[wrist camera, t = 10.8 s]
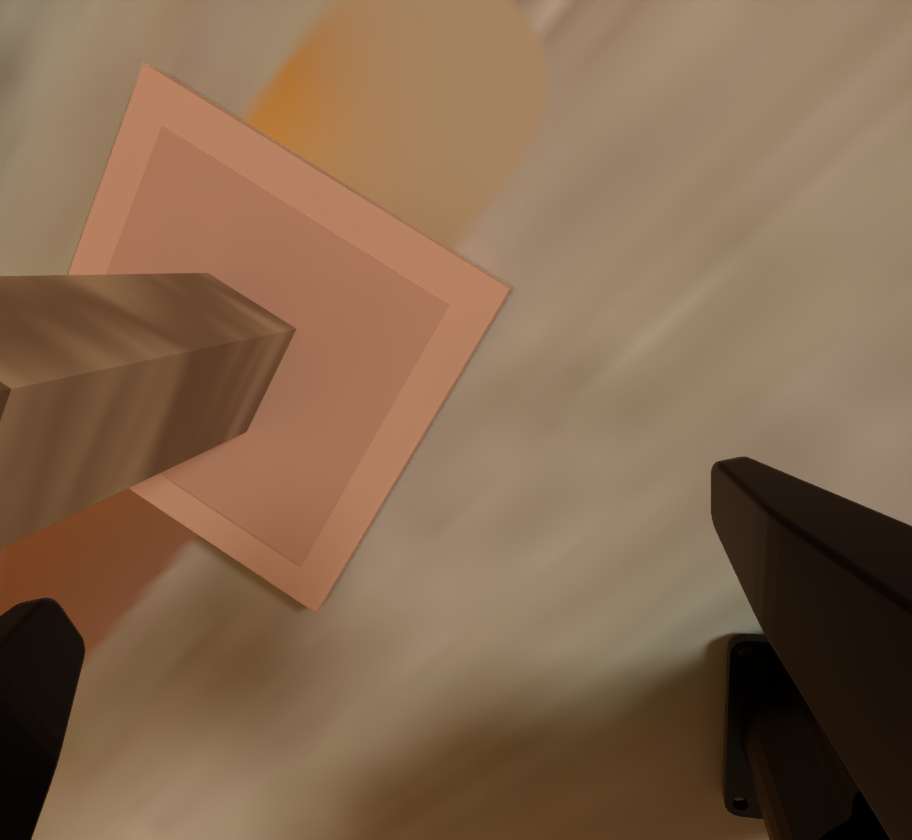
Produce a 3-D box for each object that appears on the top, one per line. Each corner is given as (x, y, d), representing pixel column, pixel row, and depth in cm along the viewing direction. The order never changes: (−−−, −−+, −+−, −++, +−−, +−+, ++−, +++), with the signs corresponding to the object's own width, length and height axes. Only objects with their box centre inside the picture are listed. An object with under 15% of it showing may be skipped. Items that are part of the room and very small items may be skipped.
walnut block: (297, 328, 20) (-24, 395, 10) (246, 432, 21) (-87, 591, 11) (207, 271, 20) (-201, 278, 10) (162, 378, 22) (-245, 483, 11)
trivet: (513, 287, 20) (509, 289, 19) (327, 599, 24) (315, 614, 23) (164, 72, 20) (141, 62, 19) (40, 409, 24) (16, 415, 23)
